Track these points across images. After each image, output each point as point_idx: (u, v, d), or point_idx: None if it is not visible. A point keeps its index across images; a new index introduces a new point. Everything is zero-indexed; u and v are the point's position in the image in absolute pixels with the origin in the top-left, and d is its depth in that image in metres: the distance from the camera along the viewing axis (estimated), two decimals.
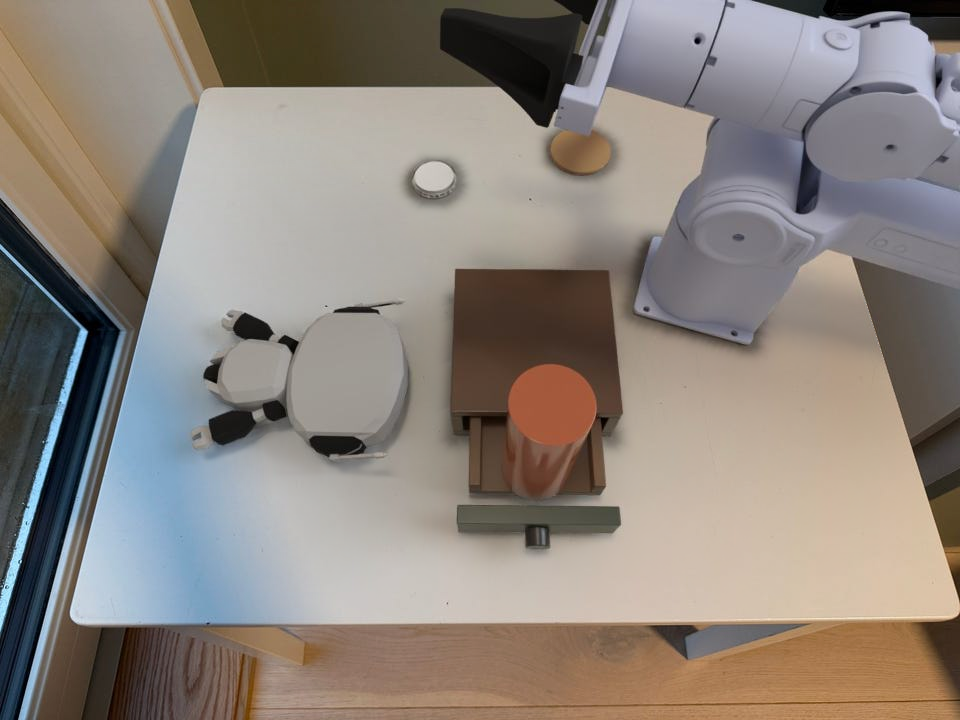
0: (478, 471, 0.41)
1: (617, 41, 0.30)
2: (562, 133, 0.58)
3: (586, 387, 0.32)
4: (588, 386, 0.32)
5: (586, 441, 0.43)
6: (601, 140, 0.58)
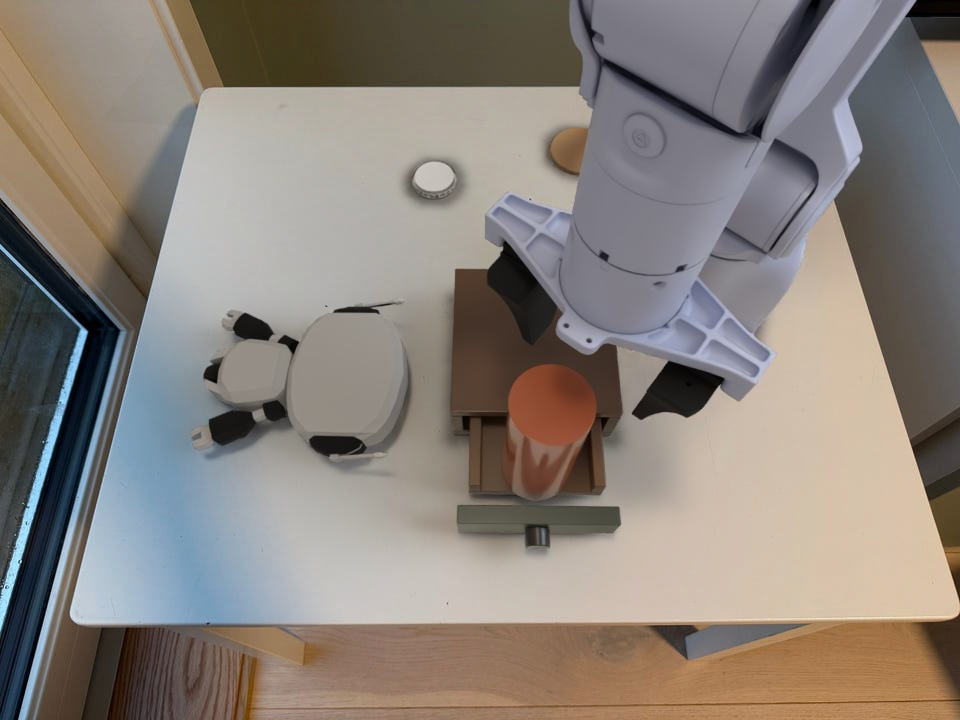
0: (478, 471, 0.41)
1: (669, 354, 0.27)
2: (562, 133, 0.58)
3: (586, 387, 0.32)
4: (588, 386, 0.32)
5: (586, 441, 0.43)
6: None
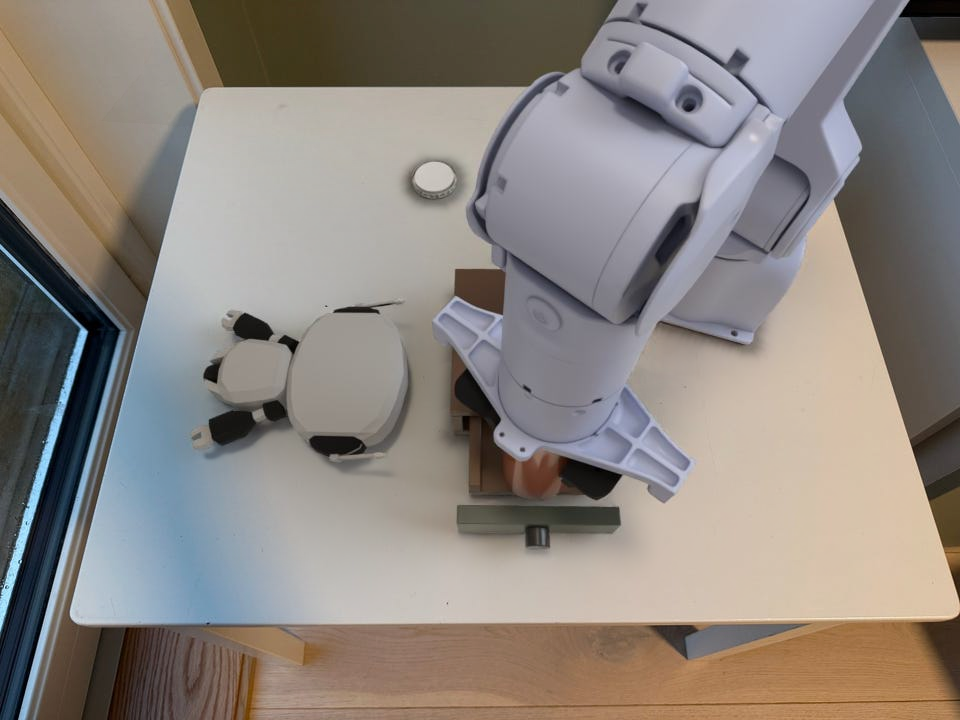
0: (478, 471, 0.41)
1: (596, 463, 0.29)
2: None
3: None
4: None
5: None
6: None
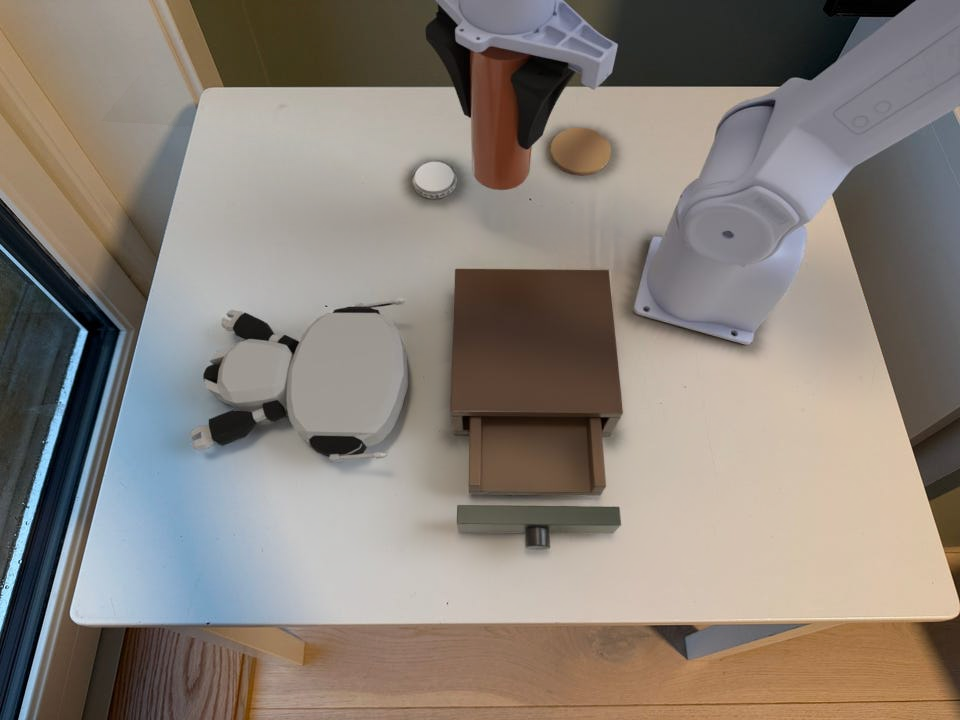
0: (478, 471, 0.41)
1: (537, 46, 0.35)
2: (562, 133, 0.58)
3: None
4: None
5: (586, 441, 0.43)
6: (601, 140, 0.58)
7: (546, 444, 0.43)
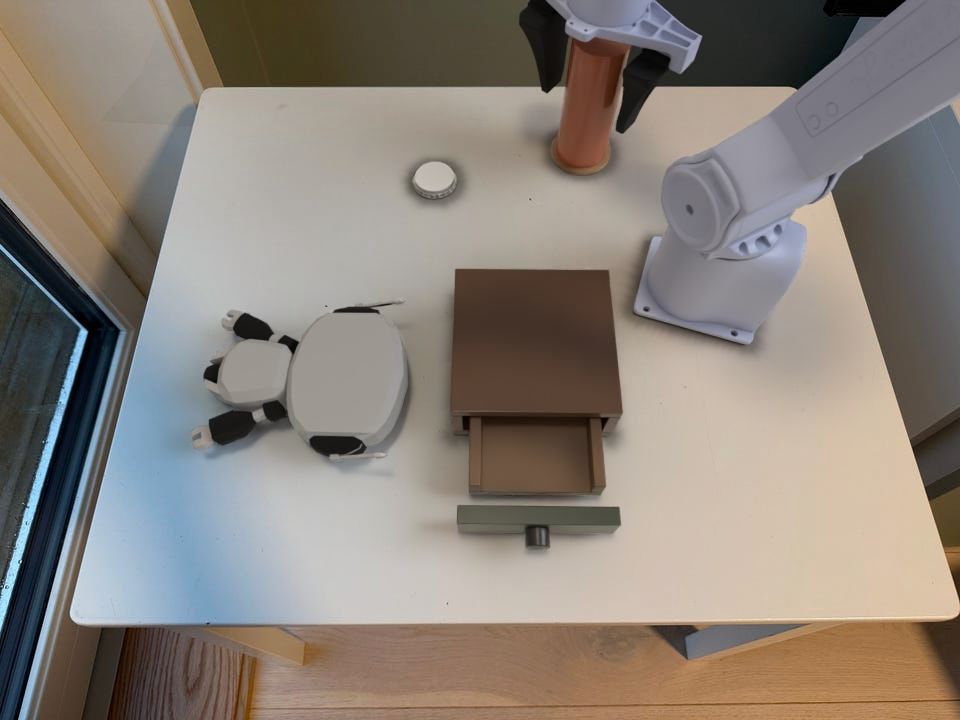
0: (478, 471, 0.41)
1: (635, 37, 0.43)
2: None
3: None
4: None
5: (586, 441, 0.43)
6: None
7: (546, 444, 0.43)
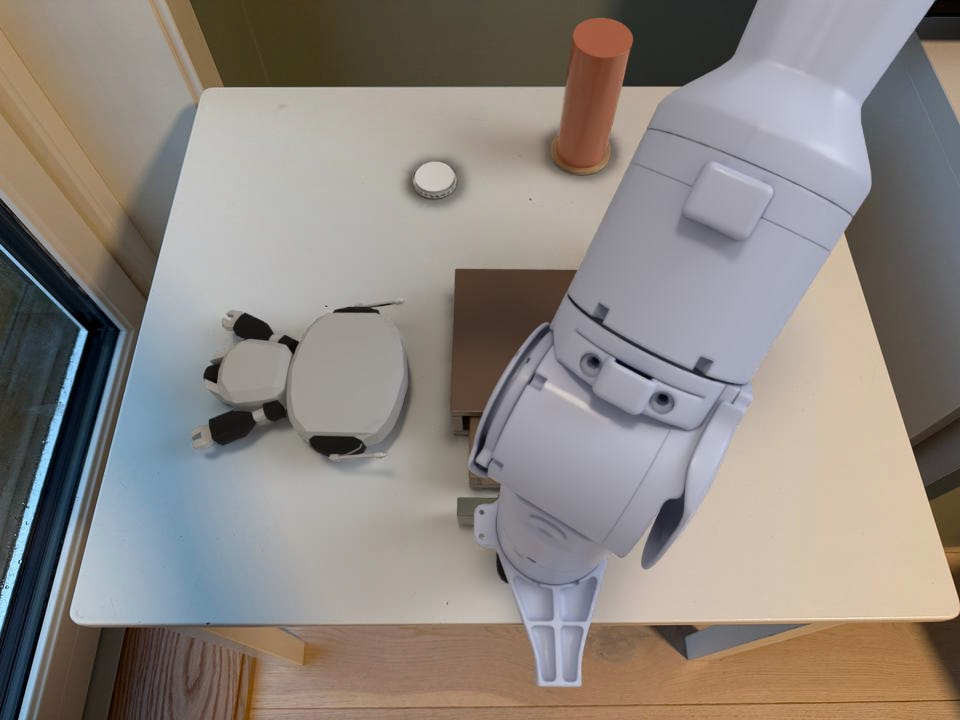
0: None
1: (515, 602, 0.30)
2: None
3: (625, 29, 0.48)
4: (627, 28, 0.48)
5: None
6: None
7: None
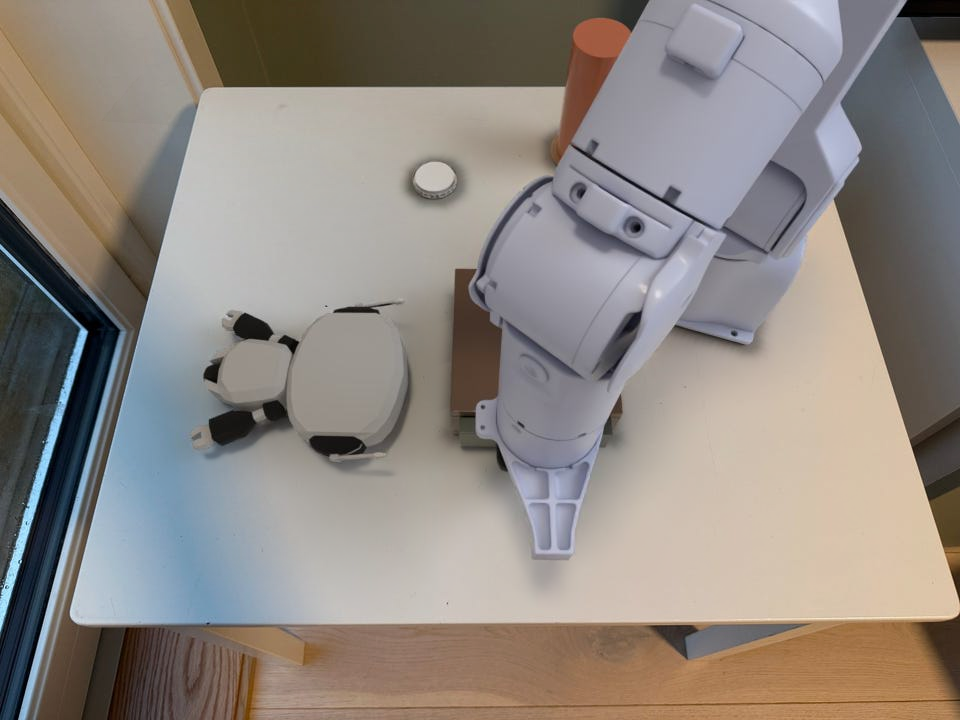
0: None
1: (514, 483, 0.32)
2: None
3: (625, 29, 0.48)
4: (627, 28, 0.48)
5: None
6: None
7: None
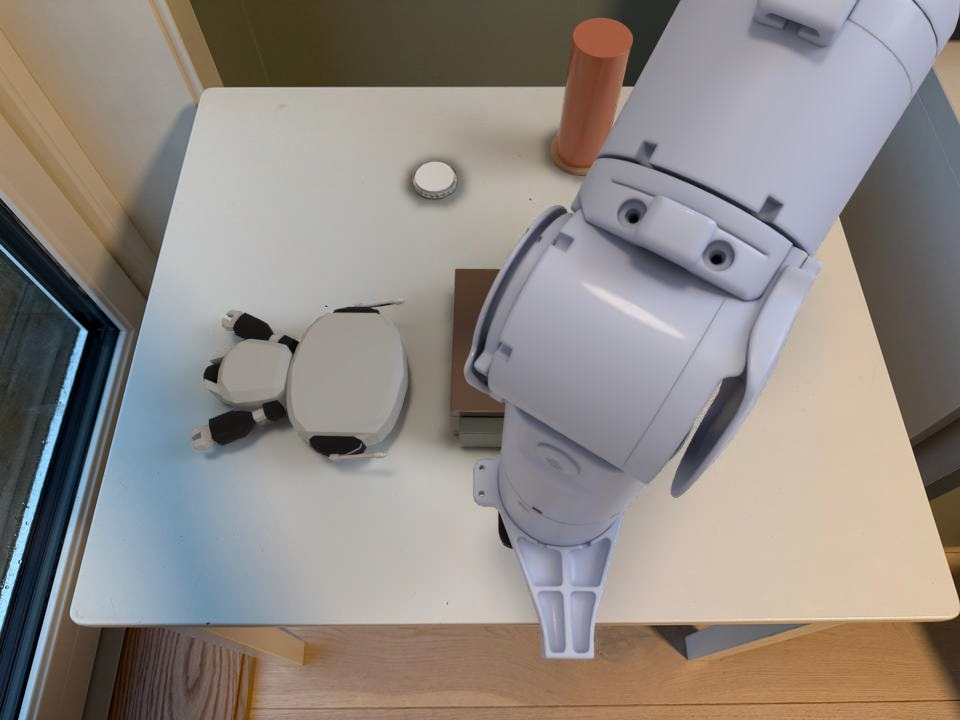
0: None
1: (519, 565, 0.27)
2: None
3: (625, 29, 0.48)
4: (627, 28, 0.48)
5: None
6: None
7: None
